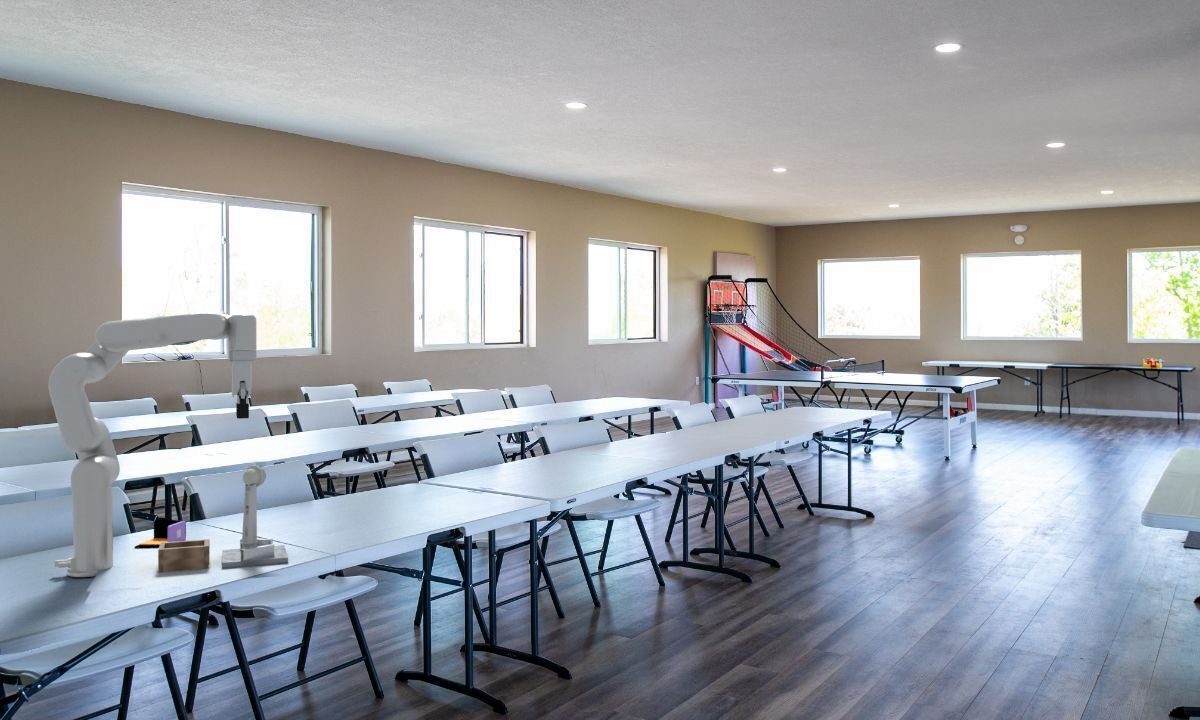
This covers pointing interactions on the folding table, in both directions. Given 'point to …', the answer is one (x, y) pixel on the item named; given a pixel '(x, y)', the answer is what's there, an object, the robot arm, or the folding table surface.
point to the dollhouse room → (166, 533)
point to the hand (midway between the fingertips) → (242, 417)
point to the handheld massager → (251, 505)
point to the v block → (255, 555)
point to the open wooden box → (183, 555)
